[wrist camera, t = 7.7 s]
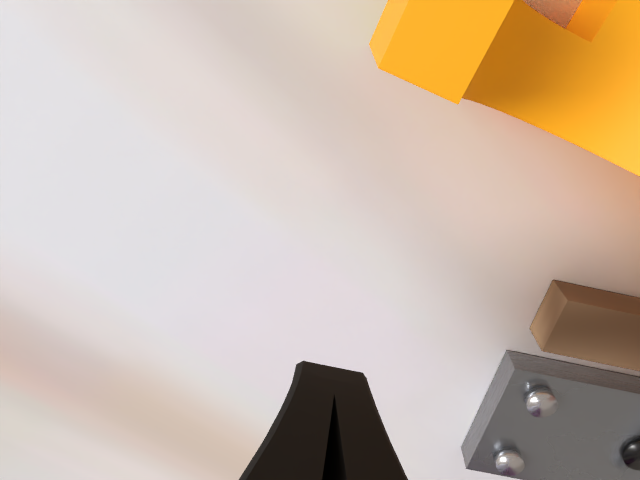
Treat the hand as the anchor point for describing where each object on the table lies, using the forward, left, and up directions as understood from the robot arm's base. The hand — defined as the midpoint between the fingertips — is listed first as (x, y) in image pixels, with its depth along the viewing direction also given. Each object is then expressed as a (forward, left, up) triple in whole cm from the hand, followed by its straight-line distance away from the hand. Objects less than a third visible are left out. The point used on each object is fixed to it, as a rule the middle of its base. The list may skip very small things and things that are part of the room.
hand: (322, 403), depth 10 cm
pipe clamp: (+7, -6, -10) cm, 14 cm away
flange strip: (-8, -17, -10) cm, 21 cm away
